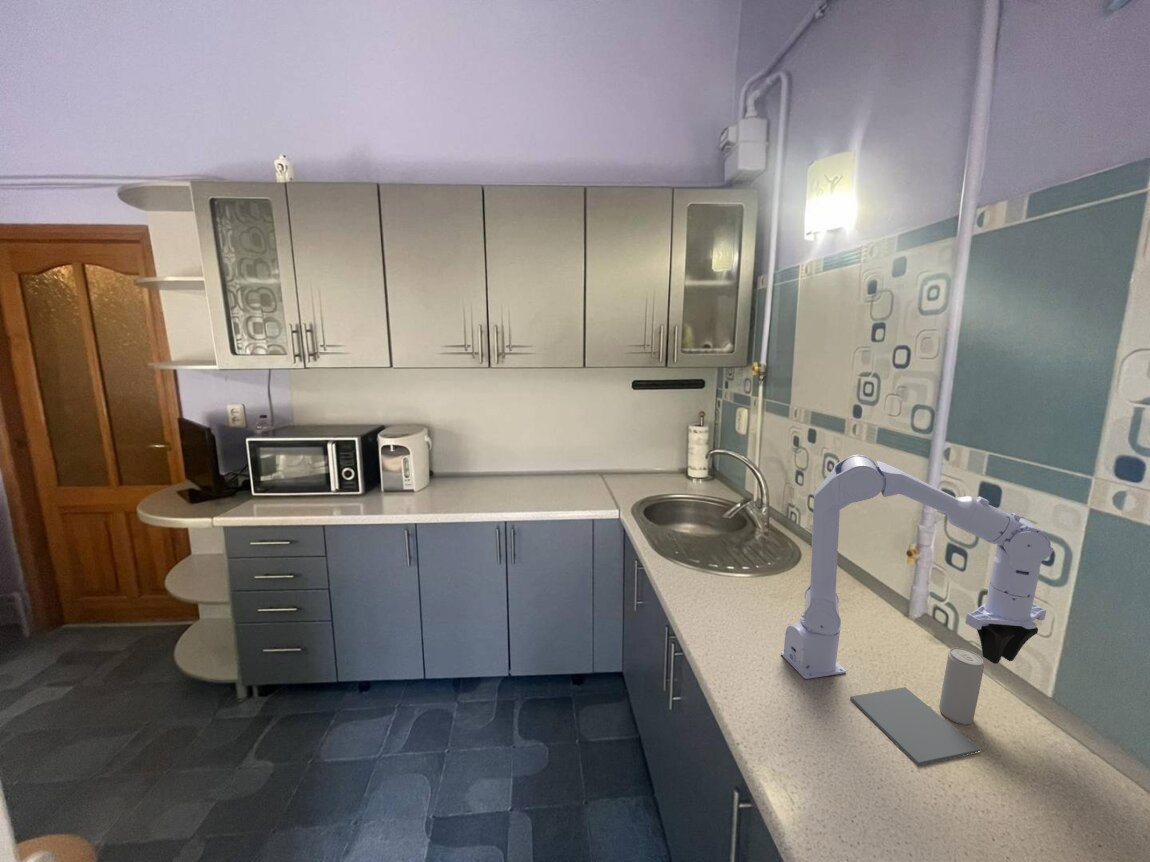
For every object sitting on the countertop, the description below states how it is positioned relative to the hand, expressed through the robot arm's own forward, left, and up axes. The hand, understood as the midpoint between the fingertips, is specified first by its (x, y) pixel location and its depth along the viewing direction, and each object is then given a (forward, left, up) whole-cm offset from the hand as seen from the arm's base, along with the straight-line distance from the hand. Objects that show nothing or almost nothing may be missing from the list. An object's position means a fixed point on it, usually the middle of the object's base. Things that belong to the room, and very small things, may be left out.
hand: (997, 658), depth 82 cm
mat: (-16, 0, -10) cm, 20 cm away
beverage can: (-7, 0, -11) cm, 13 cm away
